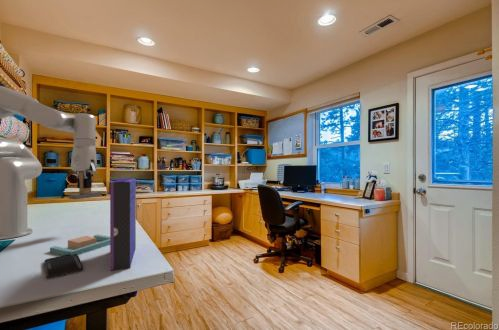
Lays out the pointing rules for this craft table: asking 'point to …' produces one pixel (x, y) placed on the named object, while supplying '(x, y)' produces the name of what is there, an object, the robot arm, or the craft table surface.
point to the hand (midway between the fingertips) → (84, 187)
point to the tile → (81, 242)
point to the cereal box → (122, 223)
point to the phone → (62, 266)
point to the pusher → (83, 190)
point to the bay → (63, 251)
